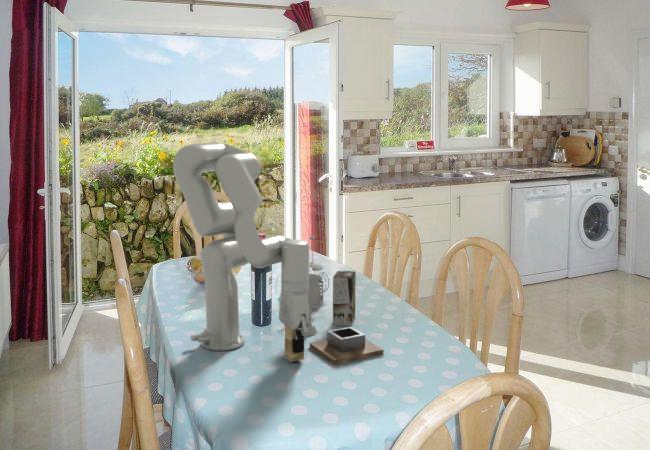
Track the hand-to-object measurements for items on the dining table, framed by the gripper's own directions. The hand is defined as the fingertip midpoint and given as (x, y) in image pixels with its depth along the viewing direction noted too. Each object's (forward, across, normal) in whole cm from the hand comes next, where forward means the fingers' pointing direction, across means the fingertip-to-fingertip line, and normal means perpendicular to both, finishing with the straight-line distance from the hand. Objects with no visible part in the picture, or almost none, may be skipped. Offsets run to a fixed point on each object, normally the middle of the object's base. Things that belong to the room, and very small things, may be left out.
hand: (294, 348), depth 176 cm
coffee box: (+4, -22, +29) cm, 37 cm away
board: (+3, +1, +16) cm, 17 cm away
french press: (+4, -43, +29) cm, 53 cm away
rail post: (+3, 0, 0) cm, 3 cm away
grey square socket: (+2, +1, +16) cm, 16 cm away
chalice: (+4, -18, +14) cm, 24 cm away
